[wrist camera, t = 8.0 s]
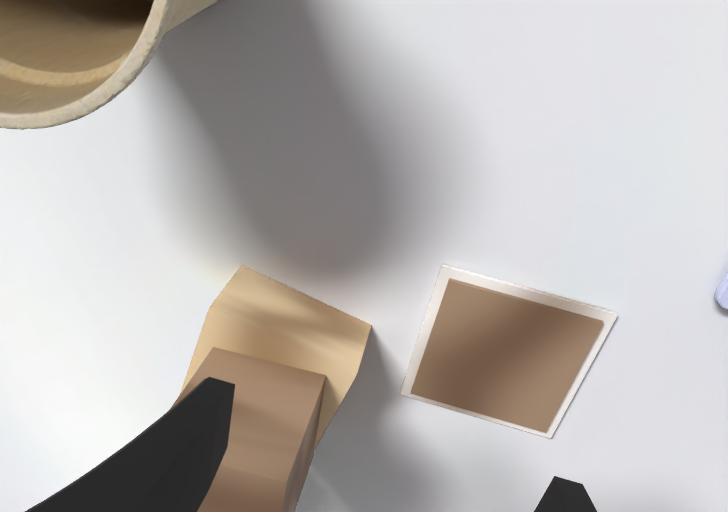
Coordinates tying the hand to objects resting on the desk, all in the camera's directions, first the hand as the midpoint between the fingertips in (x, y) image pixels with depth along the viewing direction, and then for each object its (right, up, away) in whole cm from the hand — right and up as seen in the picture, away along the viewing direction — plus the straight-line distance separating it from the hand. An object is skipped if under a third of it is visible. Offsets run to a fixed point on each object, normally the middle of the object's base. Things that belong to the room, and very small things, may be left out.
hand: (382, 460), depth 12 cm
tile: (+5, 0, +11) cm, 12 cm away
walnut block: (-4, -1, +10) cm, 11 cm away
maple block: (-4, +1, +13) cm, 13 cm away
